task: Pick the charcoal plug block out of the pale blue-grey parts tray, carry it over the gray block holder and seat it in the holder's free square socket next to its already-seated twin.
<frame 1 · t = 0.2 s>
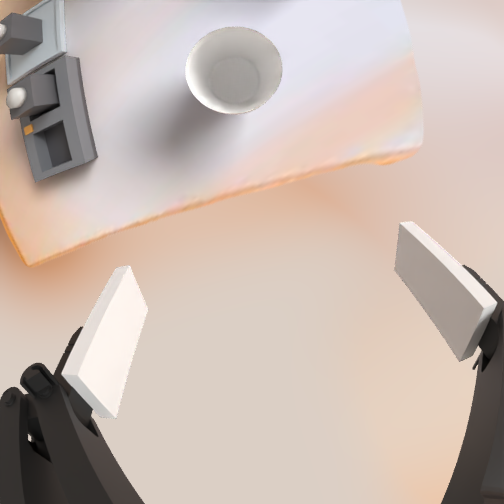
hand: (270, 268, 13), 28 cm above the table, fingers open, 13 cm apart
plug: (31, 37, 23), point 1 cm above the table, touching tray
tray: (35, 37, 24), on the table
cup: (234, 80, 32), on the table
gray block holder: (60, 117, 32), on the table
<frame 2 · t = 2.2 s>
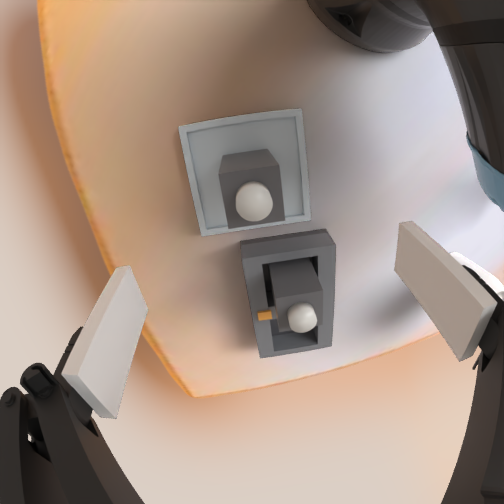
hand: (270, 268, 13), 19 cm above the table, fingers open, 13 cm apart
plug: (248, 173, 29), point 1 cm above the table, touching tray
tray: (247, 170, 29), on the table
cup: (446, 269, 38), on the table
gray block holder: (288, 290, 37), on the table
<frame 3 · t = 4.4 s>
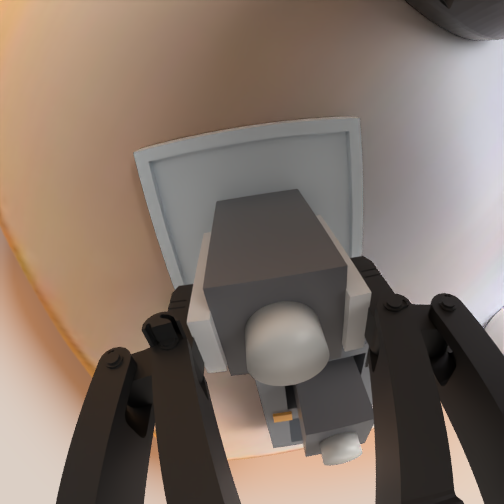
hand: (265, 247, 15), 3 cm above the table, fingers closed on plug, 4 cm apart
plug: (262, 231, 17), point 1 cm above the table, touching gripper, tray
tray: (261, 224, 18), on the table
cup: (497, 322, 26), on the table
gray block holder: (313, 374, 25), on the table
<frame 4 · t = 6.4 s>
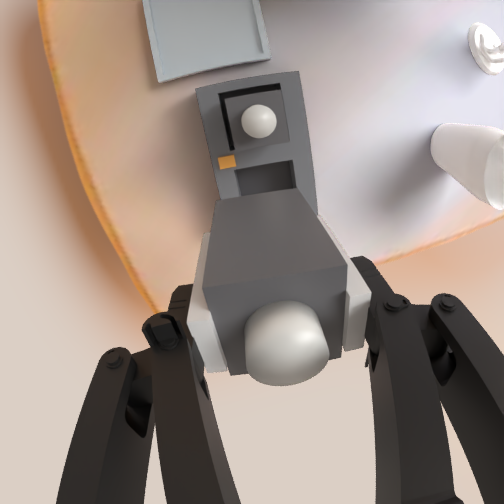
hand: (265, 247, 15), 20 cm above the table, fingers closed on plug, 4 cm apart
plug: (262, 230, 17), point 18 cm above the table, touching gripper
tray: (205, 22, 23), on the table
cup: (446, 145, 31), on the table
gray block holder: (259, 148, 31), on the table
figurine: (486, 48, 22), on the table
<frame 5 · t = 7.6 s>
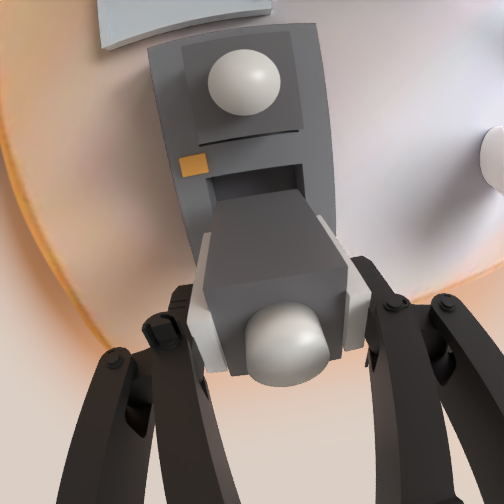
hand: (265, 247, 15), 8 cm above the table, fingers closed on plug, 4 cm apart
plug: (262, 231, 17), point 6 cm above the table, touching gripper
cup: (495, 155, 21), on the table
gray block holder: (248, 144, 20), on the table
when the fingers open (5 cm above the table, at t = 8.5 s): plug drops 2 cm, resting on gray block holder.
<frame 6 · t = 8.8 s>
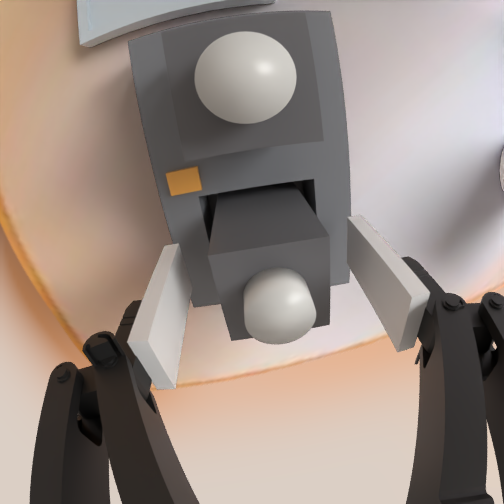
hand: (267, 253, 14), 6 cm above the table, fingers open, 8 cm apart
plug: (260, 217, 18), point 1 cm above the table, touching gray block holder
gray block holder: (249, 154, 17), on the table
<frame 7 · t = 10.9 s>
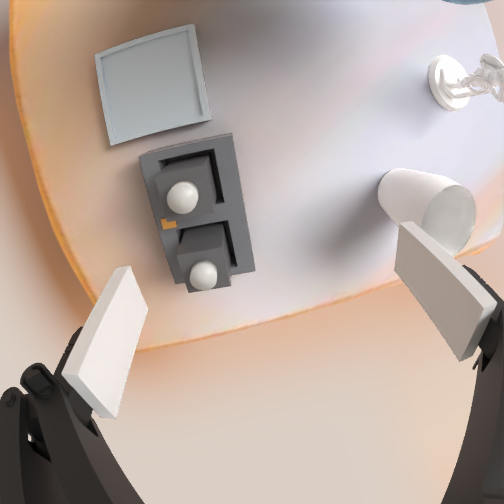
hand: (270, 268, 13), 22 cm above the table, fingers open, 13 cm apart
plug: (208, 237, 36), point 1 cm above the table, touching gray block holder
tray: (151, 83, 27), on the table
cup: (396, 190, 36), on the table
gray block holder: (202, 205, 35), on the table
figurine: (449, 82, 28), on the table
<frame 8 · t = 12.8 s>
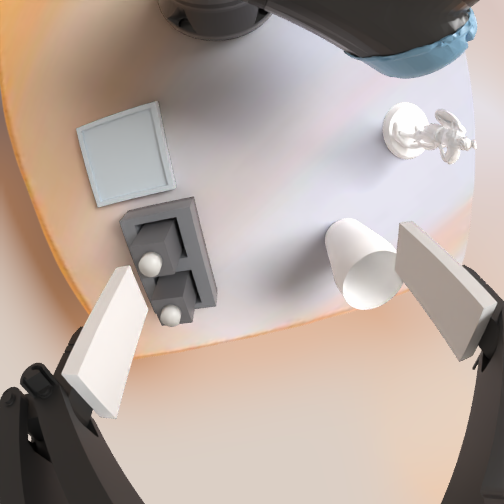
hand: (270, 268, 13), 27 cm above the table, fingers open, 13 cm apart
plug: (180, 278, 44), point 1 cm above the table, touching gray block holder
tray: (126, 154, 35), on the table
cup: (344, 236, 43), on the table
gray block holder: (174, 252, 43), on the table
figurine: (406, 130, 35), on the table
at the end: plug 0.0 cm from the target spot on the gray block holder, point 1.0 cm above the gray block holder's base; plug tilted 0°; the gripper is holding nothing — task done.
